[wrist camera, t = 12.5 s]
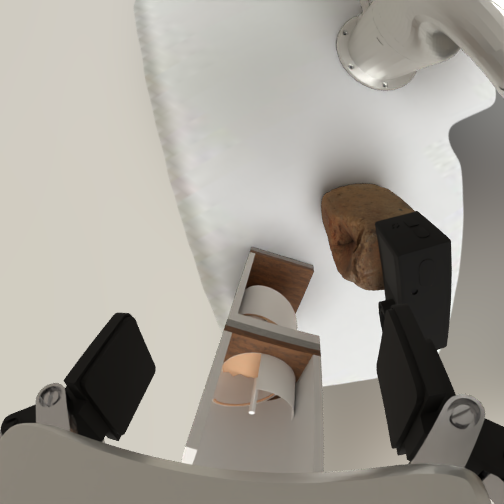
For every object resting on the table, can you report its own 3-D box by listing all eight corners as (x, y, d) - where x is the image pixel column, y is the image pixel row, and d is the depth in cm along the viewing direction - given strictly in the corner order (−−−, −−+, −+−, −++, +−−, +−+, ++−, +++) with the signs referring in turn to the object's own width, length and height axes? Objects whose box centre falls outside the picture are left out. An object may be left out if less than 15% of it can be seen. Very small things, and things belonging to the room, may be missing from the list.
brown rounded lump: (387, 182, 41) (445, 227, 23) (384, 228, 44) (432, 296, 26) (318, 182, 43) (336, 228, 25) (319, 229, 46) (333, 301, 28)
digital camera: (361, 223, 24) (381, 259, 18) (416, 209, 23) (451, 239, 17) (376, 316, 28) (391, 365, 22) (423, 303, 27) (447, 347, 20)
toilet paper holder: (290, 317, 54) (275, 505, 22) (235, 301, 54) (176, 483, 22) (313, 265, 49) (323, 474, 17) (251, 246, 49) (185, 446, 17)
